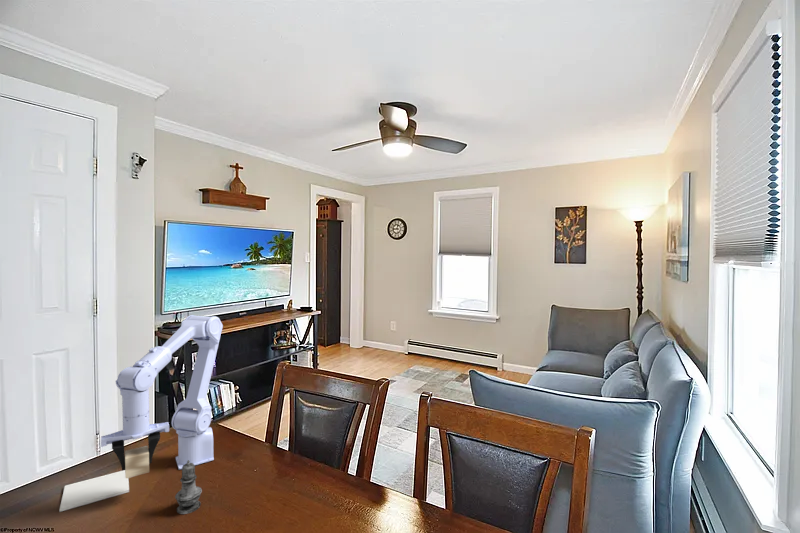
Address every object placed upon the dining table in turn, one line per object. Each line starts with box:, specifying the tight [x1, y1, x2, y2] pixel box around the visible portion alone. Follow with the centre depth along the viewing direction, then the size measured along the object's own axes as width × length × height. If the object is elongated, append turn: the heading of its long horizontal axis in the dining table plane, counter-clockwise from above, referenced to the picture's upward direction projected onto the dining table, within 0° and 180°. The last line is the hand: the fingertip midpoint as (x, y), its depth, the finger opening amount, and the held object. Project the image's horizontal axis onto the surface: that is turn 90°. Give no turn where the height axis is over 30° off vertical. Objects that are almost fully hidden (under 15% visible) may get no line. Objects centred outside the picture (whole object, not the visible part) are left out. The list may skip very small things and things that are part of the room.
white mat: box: [59, 470, 130, 513], centre depth 105 cm, size 14×12×1 cm
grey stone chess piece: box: [174, 460, 203, 515], centre depth 98 cm, size 6×6×12 cm
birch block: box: [124, 445, 150, 479], centre depth 102 cm, size 5×5×5 cm
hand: (136, 465), depth 102 cm, fingers closed on birch block, 5 cm apart
